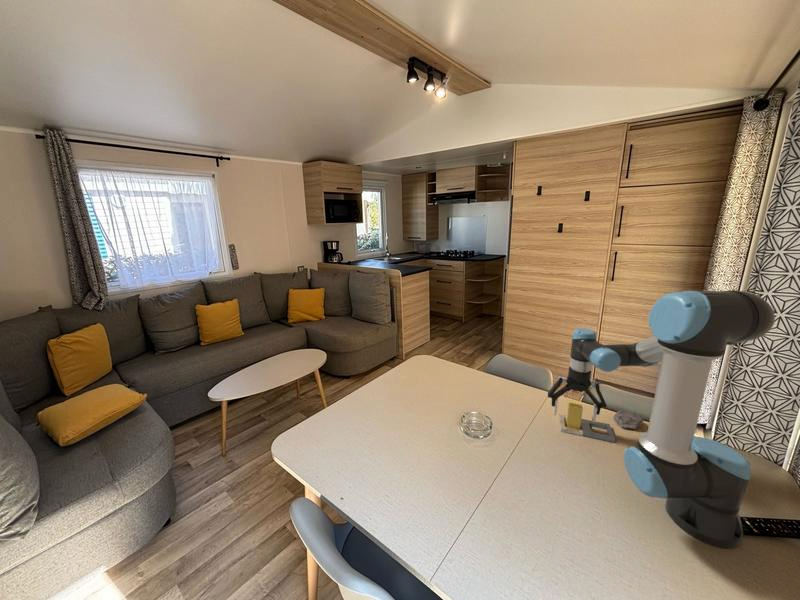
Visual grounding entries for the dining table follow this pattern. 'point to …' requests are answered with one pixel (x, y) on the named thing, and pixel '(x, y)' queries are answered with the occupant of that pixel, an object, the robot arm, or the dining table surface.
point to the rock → (628, 419)
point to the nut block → (574, 414)
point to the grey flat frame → (588, 429)
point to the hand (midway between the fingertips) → (573, 417)
